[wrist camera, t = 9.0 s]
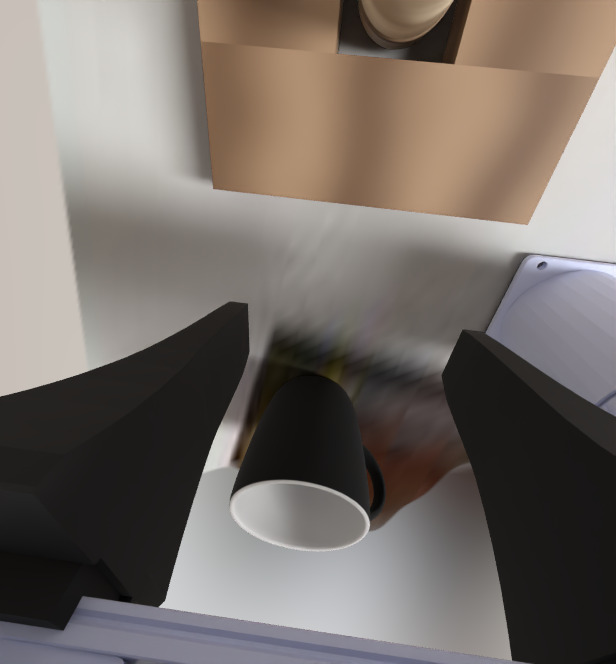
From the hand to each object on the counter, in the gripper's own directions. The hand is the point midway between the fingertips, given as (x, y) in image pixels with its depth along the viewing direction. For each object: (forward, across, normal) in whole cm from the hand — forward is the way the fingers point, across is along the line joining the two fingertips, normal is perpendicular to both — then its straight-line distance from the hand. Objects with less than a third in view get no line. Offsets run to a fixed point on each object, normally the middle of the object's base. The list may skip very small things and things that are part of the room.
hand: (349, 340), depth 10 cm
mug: (+11, -1, +15) cm, 19 cm away
